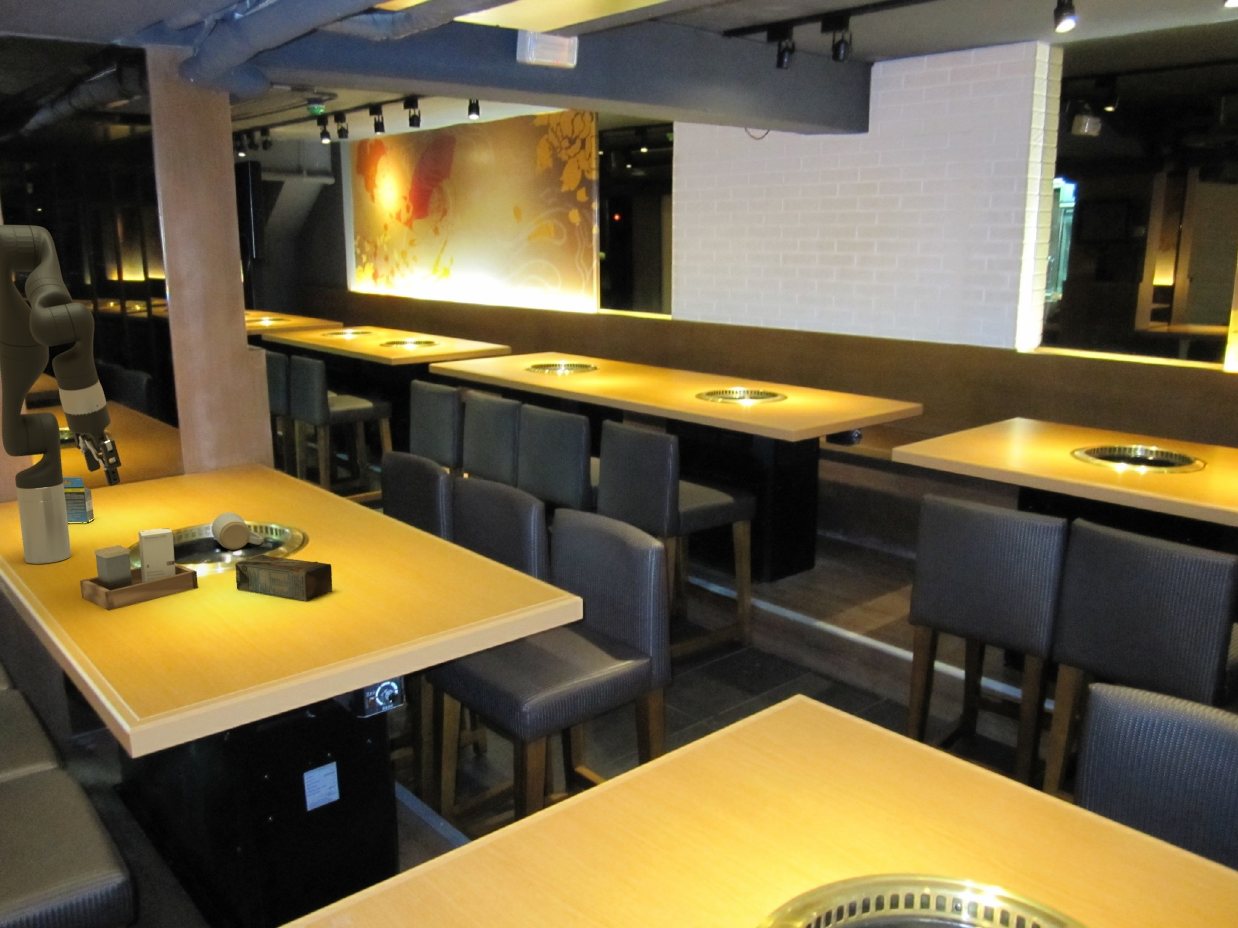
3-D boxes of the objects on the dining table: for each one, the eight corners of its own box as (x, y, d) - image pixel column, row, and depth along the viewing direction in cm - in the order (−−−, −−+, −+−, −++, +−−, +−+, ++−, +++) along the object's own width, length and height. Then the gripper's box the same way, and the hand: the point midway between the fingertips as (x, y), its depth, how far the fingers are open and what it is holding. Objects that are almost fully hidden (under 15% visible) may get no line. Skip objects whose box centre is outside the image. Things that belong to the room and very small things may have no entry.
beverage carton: (263, 580, 213) (261, 550, 211) (335, 592, 205) (333, 561, 204) (235, 590, 205) (233, 559, 204) (308, 603, 198) (306, 571, 196)
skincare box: (145, 593, 203) (140, 535, 201) (142, 587, 207) (136, 530, 204) (178, 588, 206) (173, 531, 204) (174, 582, 210) (169, 526, 208)
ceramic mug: (220, 553, 231) (218, 521, 230) (212, 545, 238) (210, 513, 237) (267, 547, 237) (265, 515, 236) (258, 539, 244) (256, 508, 243)
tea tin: (99, 598, 200) (94, 550, 198) (123, 592, 203) (118, 545, 201) (110, 603, 197) (105, 554, 195) (134, 597, 200) (129, 549, 198)
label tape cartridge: (95, 520, 261) (90, 474, 259) (87, 524, 258) (83, 477, 255) (60, 520, 261) (55, 474, 259) (52, 524, 257) (47, 477, 255)
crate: (81, 597, 200) (80, 580, 200) (169, 576, 214) (167, 560, 213) (109, 610, 193) (107, 592, 192) (197, 587, 207) (196, 571, 206)
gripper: (120, 409, 192) (139, 481, 200) (87, 387, 200) (106, 458, 208) (81, 422, 187) (102, 496, 195) (48, 399, 195) (69, 472, 203)
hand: (104, 476), depth 201 cm, fingers open, 8 cm apart
